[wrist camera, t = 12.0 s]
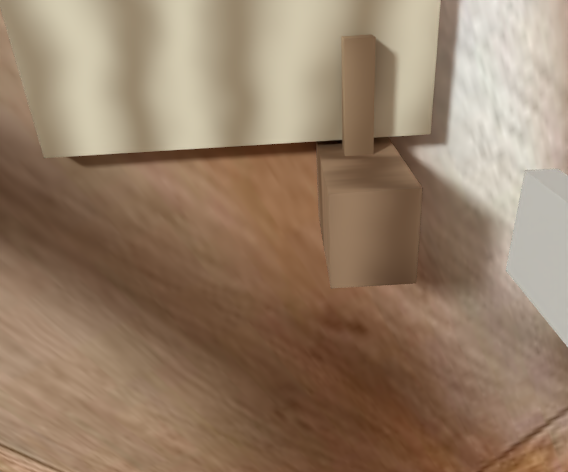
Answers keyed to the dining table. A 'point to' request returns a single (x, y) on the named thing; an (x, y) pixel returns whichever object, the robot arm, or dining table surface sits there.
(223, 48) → the board
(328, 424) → the dining table surface
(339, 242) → the brown block with handle
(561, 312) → the robot arm
